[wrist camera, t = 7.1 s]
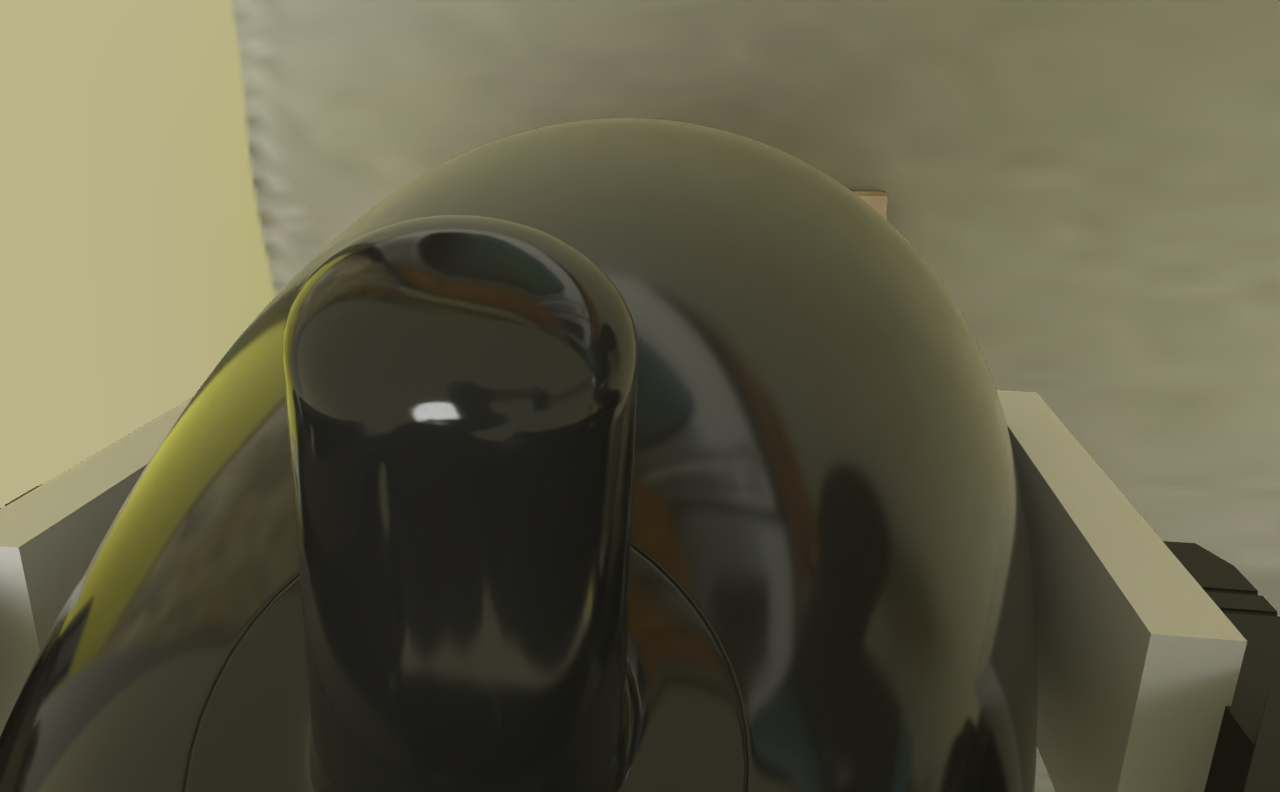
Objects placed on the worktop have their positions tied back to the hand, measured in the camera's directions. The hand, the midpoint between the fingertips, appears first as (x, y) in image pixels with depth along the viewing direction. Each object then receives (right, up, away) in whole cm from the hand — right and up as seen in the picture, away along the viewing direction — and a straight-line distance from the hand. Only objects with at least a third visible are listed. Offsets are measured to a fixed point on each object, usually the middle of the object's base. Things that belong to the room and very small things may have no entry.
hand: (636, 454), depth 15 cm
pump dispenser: (0, +1, +3) cm, 3 cm away
